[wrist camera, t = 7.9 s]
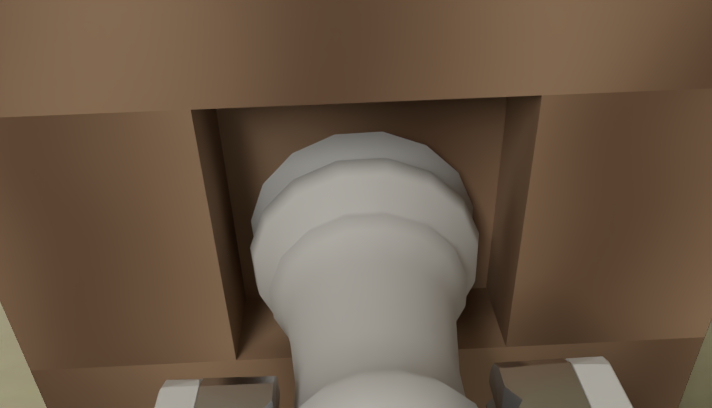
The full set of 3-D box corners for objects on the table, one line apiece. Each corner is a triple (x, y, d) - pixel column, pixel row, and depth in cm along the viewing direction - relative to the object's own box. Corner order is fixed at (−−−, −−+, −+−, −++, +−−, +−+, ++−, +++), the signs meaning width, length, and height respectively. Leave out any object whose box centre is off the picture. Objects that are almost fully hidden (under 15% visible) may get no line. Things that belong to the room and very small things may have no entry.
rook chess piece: (206, 202, 13) (70, 659, 6) (389, 73, 11) (487, 469, 4) (340, 330, 15) (355, 780, 8) (508, 233, 13) (699, 672, 7)
